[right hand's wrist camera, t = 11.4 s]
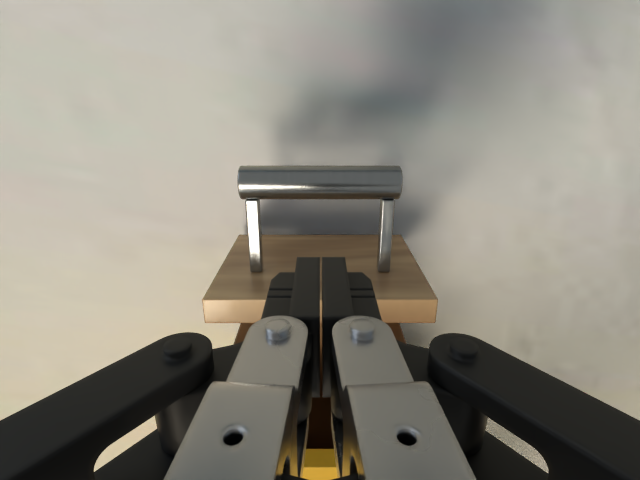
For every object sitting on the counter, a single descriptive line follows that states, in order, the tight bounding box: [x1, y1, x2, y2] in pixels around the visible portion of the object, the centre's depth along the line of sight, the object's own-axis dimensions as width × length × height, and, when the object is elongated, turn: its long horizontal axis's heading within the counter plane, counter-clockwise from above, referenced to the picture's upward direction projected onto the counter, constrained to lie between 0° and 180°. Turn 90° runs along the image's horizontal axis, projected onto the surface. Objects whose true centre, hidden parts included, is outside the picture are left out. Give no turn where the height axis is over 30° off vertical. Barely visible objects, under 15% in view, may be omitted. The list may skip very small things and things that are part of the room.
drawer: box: [202, 166, 438, 449], centre depth 23 cm, size 23×10×8 cm, turn 0°
